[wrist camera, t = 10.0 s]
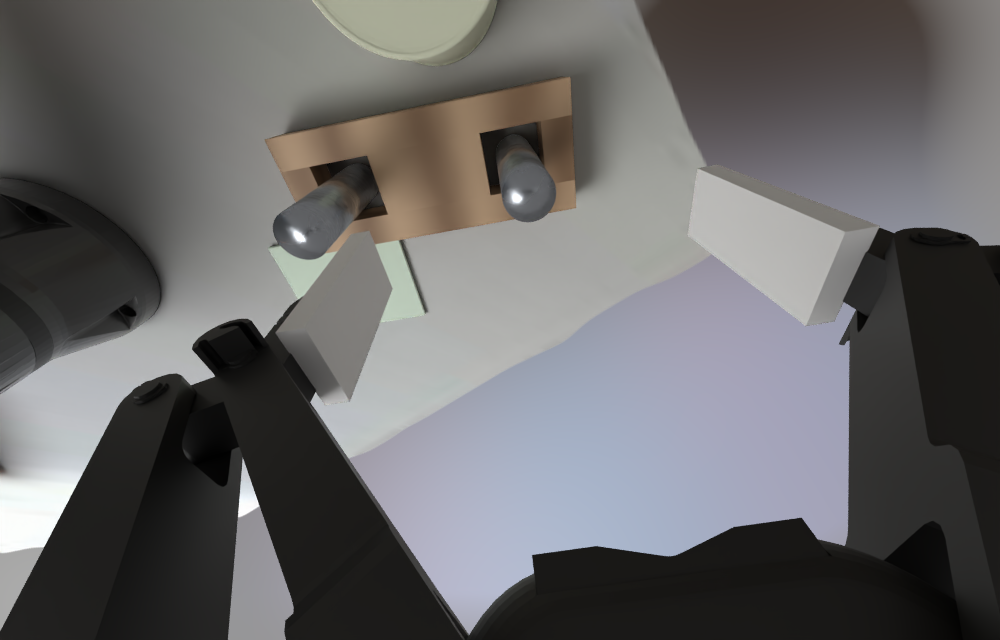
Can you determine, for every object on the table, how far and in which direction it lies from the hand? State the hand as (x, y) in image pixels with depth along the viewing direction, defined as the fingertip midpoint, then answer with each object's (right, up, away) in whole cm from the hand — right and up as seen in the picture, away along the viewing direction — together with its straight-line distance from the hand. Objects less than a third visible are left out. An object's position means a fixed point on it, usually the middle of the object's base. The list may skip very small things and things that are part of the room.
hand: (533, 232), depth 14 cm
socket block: (-7, +9, +15) cm, 19 cm away
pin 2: (0, +10, +15) cm, 18 cm away
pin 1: (-13, +8, +16) cm, 22 cm away
